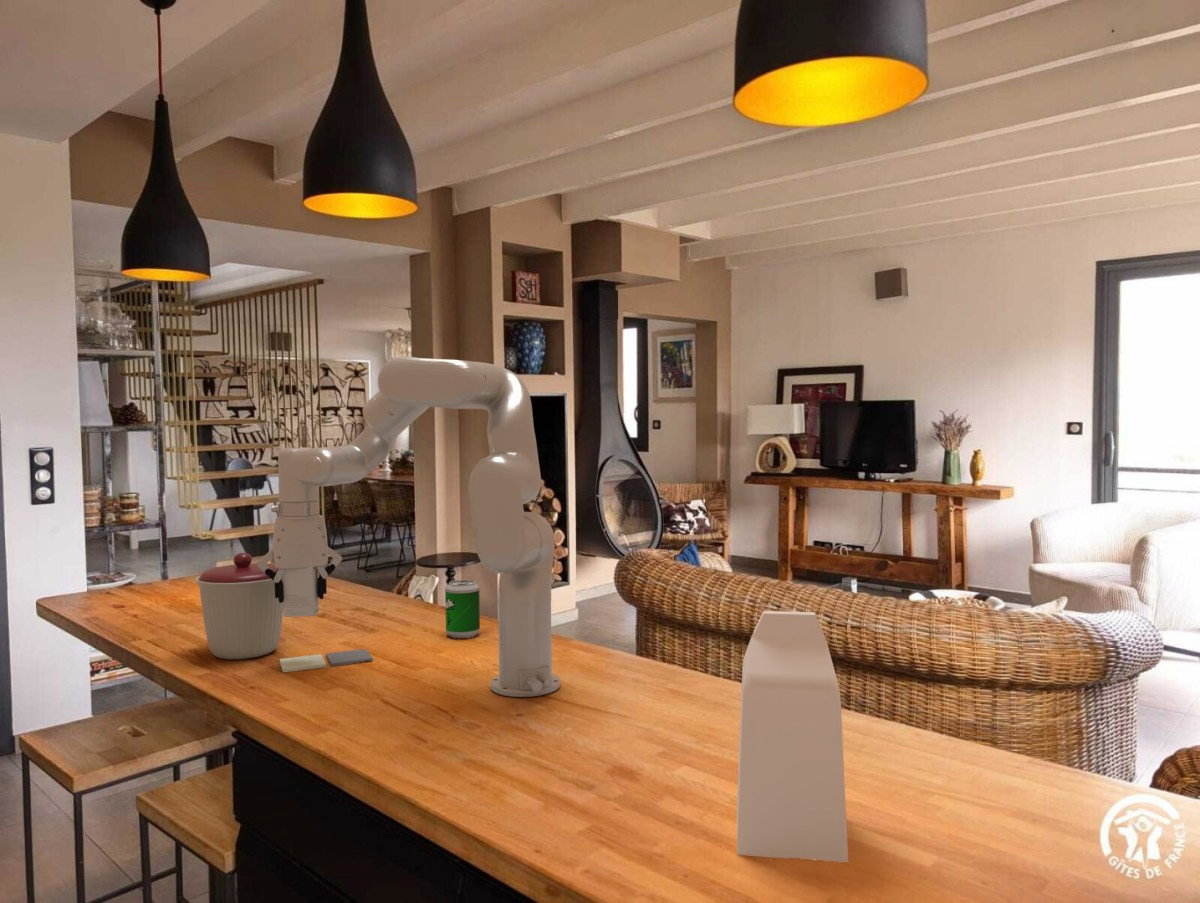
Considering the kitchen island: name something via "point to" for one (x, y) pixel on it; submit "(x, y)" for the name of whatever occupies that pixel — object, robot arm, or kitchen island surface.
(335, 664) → the slate pad
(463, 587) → the soda can
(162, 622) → the kitchen island surface
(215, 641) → the canister
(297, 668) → the sage pad
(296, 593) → the skincare box
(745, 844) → the milk
